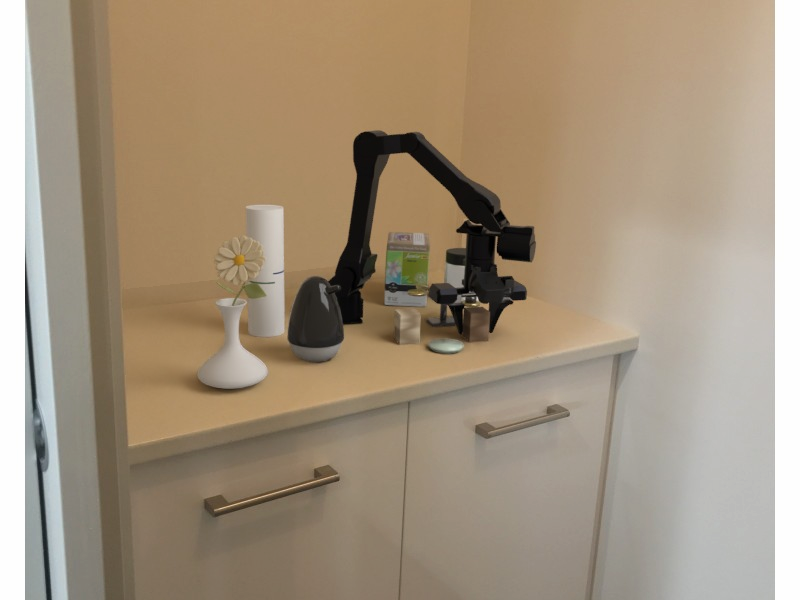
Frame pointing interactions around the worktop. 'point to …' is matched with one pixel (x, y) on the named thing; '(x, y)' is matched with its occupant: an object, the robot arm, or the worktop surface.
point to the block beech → (407, 326)
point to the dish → (446, 346)
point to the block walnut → (476, 324)
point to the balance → (442, 307)
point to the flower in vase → (235, 317)
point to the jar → (455, 267)
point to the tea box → (406, 268)
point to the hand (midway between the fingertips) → (475, 333)
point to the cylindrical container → (267, 270)
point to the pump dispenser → (315, 321)
